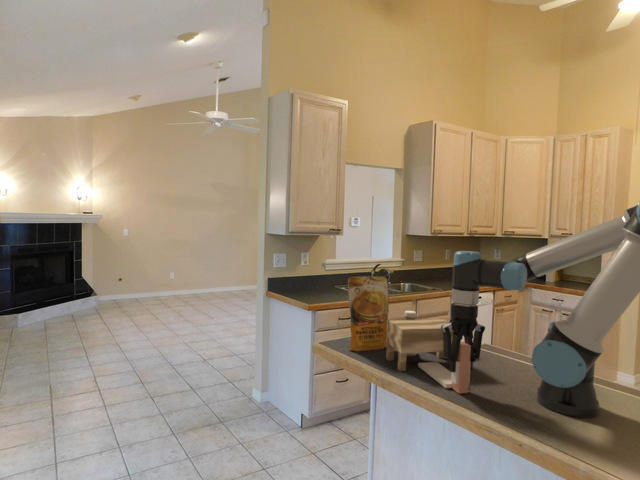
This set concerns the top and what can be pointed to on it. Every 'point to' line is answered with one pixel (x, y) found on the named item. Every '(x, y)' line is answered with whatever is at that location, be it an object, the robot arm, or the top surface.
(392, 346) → the small wooden stool
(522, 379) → the top surface
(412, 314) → the sprinkles bottle
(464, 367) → the plank with pink post
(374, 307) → the pancake mix bag
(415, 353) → the steel puck
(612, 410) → the top surface
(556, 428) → the top surface
